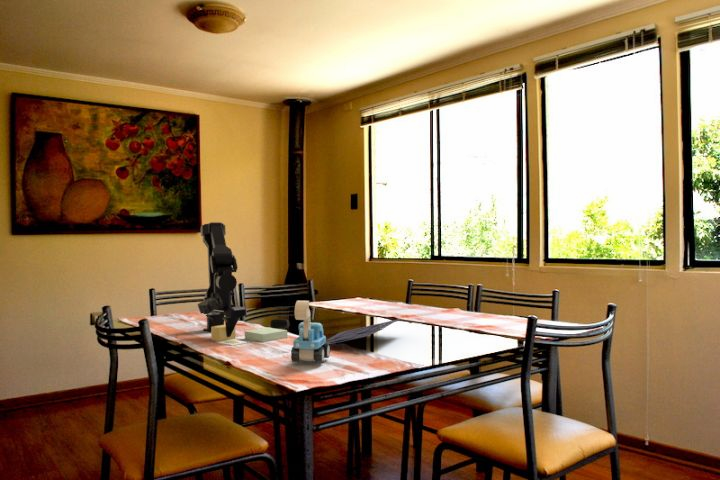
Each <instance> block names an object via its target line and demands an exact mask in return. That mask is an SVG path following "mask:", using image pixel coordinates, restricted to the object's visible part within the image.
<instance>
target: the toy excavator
mask: <svg viewBox="0 0 720 480" xmlns="http://www.w3.org/2000/svg"><path fill="white" fill-rule="evenodd" d="M309 307H310V300H296V302H295V305H294V318H295V320H296V321H297V320H298V321H302V322H300V323H299V324H298V332H299V333H298V337H296V338H295V339H293V341H292V342H293V343H292V345H293V346H292V347H291V350H290V352H291V353H290V360H291V362H292V363H299V362H300V360H301V361H314V363H323V362H324V361H325V359H329V358H330V353H331V349H330V348H331V346H330V345H331V344H330V345H329V344H328V343H326V340H327V337H326V335H324V328H323V327H324V326H323V324H322V323H320V322H311V310H310V308H309Z"/></svg>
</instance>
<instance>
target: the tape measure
mask: <svg viewBox="0 0 720 480" xmlns="http://www.w3.org/2000/svg"><path fill="white" fill-rule="evenodd" d="M290 326H291V322H290V320H288V319H286V318H276V319H275V318H274V319H271V320H270V322H269V328H275V329H281V330H285V329H287V328H289V327H290Z"/></svg>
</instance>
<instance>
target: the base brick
mask: <svg viewBox="0 0 720 480" xmlns="http://www.w3.org/2000/svg"><path fill="white" fill-rule="evenodd" d="M248 339H249V340H250V341H255V342H258V343H259V342H260V343H266V342H268V343H269V342H272V341H278V340H283V339H288V330H287V329H275V328H271V327H264V328H263V327H262V328H257V329H251V330H244V340H248Z"/></svg>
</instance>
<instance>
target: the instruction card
mask: <svg viewBox="0 0 720 480" xmlns="http://www.w3.org/2000/svg"><path fill="white" fill-rule="evenodd" d="M217 344H221V345H225V346H231V347H232V346H238V345H244V344H248V342H247V341H243V340H237V339H231V340H225V341H217Z"/></svg>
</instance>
